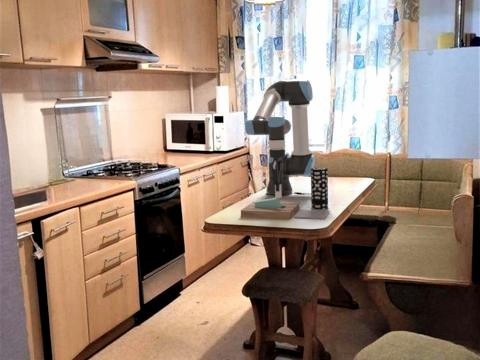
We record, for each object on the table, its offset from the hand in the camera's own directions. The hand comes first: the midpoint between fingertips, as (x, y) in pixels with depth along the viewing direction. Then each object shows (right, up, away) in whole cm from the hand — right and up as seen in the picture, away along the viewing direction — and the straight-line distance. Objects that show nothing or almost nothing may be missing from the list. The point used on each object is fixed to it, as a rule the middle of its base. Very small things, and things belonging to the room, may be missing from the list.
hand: (278, 197), depth 248 cm
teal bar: (-4, -6, +3) cm, 8 cm away
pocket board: (-4, -8, +3) cm, 9 cm away
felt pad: (+16, -8, -4) cm, 18 cm away
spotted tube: (+22, -6, +11) cm, 25 cm away
